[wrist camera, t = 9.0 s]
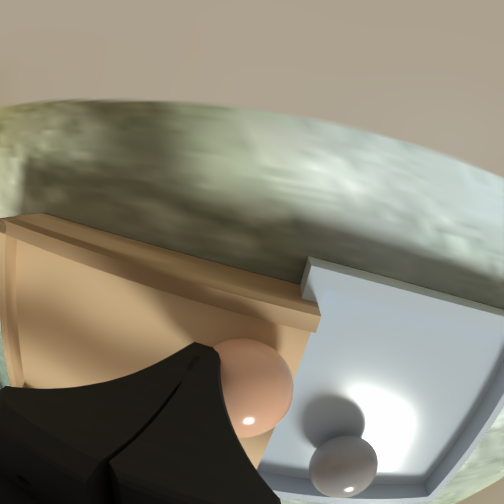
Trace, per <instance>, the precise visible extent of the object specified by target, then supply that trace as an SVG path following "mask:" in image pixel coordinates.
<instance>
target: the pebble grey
mask: <svg viewBox="0 0 504 504" xmlns="http://www.w3.org/2000/svg"><path fill="white" fill-rule="evenodd" d="M377 470H378V457H377V454H376V451H375V450H374V448H373V447H372V445H371V444H370V443H369V442H368V441H366V440H365V439H363V438H360V437H358V436H354V435H340V436H336V437H333V438H330V439H328V440H327V441H325V442H324V443H322V444H321V445H320V446H319V447H318V448H317V449H316V450H315V452H314V453H313V455H312V457H311V459H310V462H309V477H310V480H311V482H312V484H313V485H314V487H315V488H316V489H317V490H318V491H320V492H321V493H323V494H324V495H327V496H329V497H333V498H347V497H351V496H354V495H356V494H358V493H360V492H362V491H363V490H365V489H366V488H367V487H368V486H369V485H370V484H371V482H372V481H373V480H374V478H375V476H376V473H377Z"/></svg>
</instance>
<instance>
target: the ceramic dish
mask: <svg viewBox="0 0 504 504" xmlns="http://www.w3.org/2000/svg"><path fill="white" fill-rule="evenodd" d="M300 289H301V297H302V299H306V300H310V301H314V302H318V306H319V309H320V313H321V319H320V322H319V325H318V328H317V331H316V333H313V332H311V334H310V337H309V340H308V342H307V345H306V348H305V351H304V354H303V356H302V359H301V362H300V365H299V367H298V370H297V373H296V375H295V378H294V381H293V382H294V394H293V399H292V403H291V406H290V408H289V410H288V412H287V414H286V415H285V417H284V418H283V419H282V420H281V421H280V423H279V424H277V425H276V426H275V428H274V431H273V433H272V436H271V438H270V440H269V443H268V445H267V447H266V449H265V452H264V454H263V456H262V459H261V461H260V463H259V465H258V467H257V471H258V473H259V474H260V476H261V477H262V478H263V479H264V481H265V482H266V483H267V484H268V486H269V487H270V488H271V489H272V490H273V492H274V493H275V494H276V495H277V496H278V497H279V498H282V499H289V500H297V501H305V502H315V503H327V504H415V503H426V502H431V501H432V500H433V499H434V498H435V497H436V496H437V495H438V494H439V492H440V491H441V490H442V489H443V488H444V487H445V486H446V485H447V484H448V482H449V481H450V480H451V479H452V478H453V477H454V475H455V474H456V473H457V472H458V471H459V469H460V468H461V467H462V466H463V464H464V463H465V462H466V461H467V459H468V458H469V457H470V455H471V454H472V453H473V451H474V450H475V449H476V447H477V446H478V445H479V443H480V442H481V440H482V439H483V437H484V436H485V435H486V433H487V432H488V430H489V429H490V427H491V426H492V424H493V423H494V421H495V420H496V418H497V416H498V415H499V413H500V412H501V410H502V408H503V407H504V310H503V309H499V308H496V307H492V306H489V305H485V304H482V303H478V302H475V301H471V300H468V299H464V298H461V297H457V296H453V295H450V294H446V293H443V292H439V291H435V290H432V289H428V288H425V287H421V286H417V285H414V284H410V283H406V282H403V281H399V280H395V279H392V278H388V277H384V276H381V275H377V274H373V273H370V272H366V271H362V270H359V269H355V268H351V267H347V266H344V265H340V264H336V263H333V262H329V261H325V260H321V259H318V258H314V257H310V256H308V259H307V262H306V266H305V269H304V272H303V276H302V279H301V283H300ZM340 435H354V436H358V437H360V438H363V439H365V440H366V441H368V442H369V443H370V444H371V445H372V447H373V448H374V450H375V451H376V454H377V457H378V470H377V473H376V476H375V478H374V480H373V481H372V482H371V484H370V485H369V486H368V487H367V488H366V489H365V490H363V491H362V492H360V493H358V494H356V495H354V496H351V497H347V498H333V497H329V496H327V495H324V494H323V493H321V492H320V491H318V490H317V489H316V488H315V487H314V485H313V484H312V482H311V480H310V477H309V462H310V459H311V457H312V455H313V453H314V452H315V450H316V449H317V448H318V447H319V446H320V445H321V444H322V443H324V442H325V441H327V440H328V439H330V438H333V437H336V436H340Z"/></svg>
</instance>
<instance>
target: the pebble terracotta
mask: <svg viewBox="0 0 504 504" xmlns="http://www.w3.org/2000/svg"><path fill="white" fill-rule="evenodd" d="M212 347H213V348H214V349H215V350H216V351H217V352H218V353H219V356H220V360H221V362H220V375H221V384H222V390H223V396H224V400H225V404H226V408H227V411H228V414H229V417H230V420H231V423H232V426H233V428H234V430H235V433H236V435H237V437H238V438H248V437H254V436H258V435H261V434H263V433H265V432H267V431H269V430H271V429H272V428H274V427H275V426H276V425H277V424H279V423H280V421H281V420H282V419H283V418H284V417H285V415H286V414H287V412H288V410H289V408H290V406H291V403H292V399H293V394H294V382H293V377H292V373H291V371H290V368H289V366H288V364H287V363H286V361H285V360H284V358H283V357H282V356H281V355H280V354H279V353H278V352H277V351H276V350H275V349H273V348H272V347H271V346H269V345H267V344H265V343H263V342H261V341H258V340H254V339H249V338H235V339H229V340H225V341H222V342H220V343H218V344H216V345H214V346H212Z"/></svg>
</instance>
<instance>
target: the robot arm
mask: <svg viewBox="0 0 504 504" xmlns="http://www.w3.org/2000/svg"><path fill="white" fill-rule="evenodd" d="M220 362H221V360H220V356H219V353H218V352H217V351H216V350H215V349H214V348H213V347H210V346H207V345H203V344H200V343H197V342H193V343H191V344H189V345H188V346H186V347H184V348H183V349H181V350H179V351H178V352H176V353H174V354H172V355H171V356H169V357H167V358H165V359H163V360H161V361H159V362H157V363H155V364H153V365H151V366H149V367H147V368H144V369H142V370H140V371H138V372H135V373H132V374H130V375H127V376H124V377H120V378H117V379H113V380H110V381H106V382H101V383H96V384H90V385H84V386H78V387H69V388H51V389H38V388H22V387H10V386H5V387H4V388H2V389H1V390H0V504H281V502H280V498H279V497H278V496H277V495H276V494H275V493H274V492H273V490H272V489H271V488H270V487H269V486H268V484H267V483H266V482H265V481H264V479H263V478H262V477H261V476H260V474H259V473H258V471H257V470H256V468H255V467H254V465H253V464H252V462H251V461H250V459H249V457H248V456H247V454H246V452H245V450H244V448H243V447H242V445H241V443H240V441H239V439H238V437H237V435H236V433H235V430H234V428H233V426H232V423H231V420H230V417H229V414H228V411H227V408H226V404H225V400H224V396H223V390H222V384H221V375H220Z"/></svg>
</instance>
